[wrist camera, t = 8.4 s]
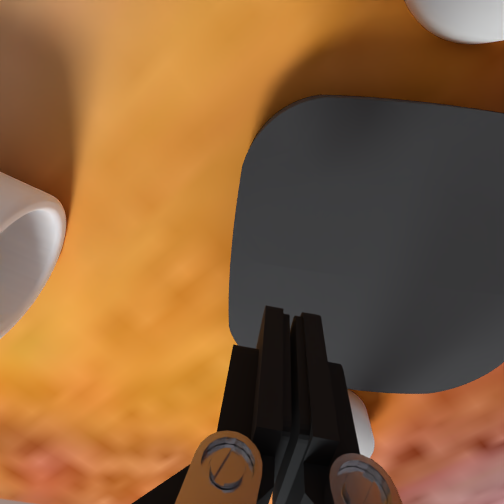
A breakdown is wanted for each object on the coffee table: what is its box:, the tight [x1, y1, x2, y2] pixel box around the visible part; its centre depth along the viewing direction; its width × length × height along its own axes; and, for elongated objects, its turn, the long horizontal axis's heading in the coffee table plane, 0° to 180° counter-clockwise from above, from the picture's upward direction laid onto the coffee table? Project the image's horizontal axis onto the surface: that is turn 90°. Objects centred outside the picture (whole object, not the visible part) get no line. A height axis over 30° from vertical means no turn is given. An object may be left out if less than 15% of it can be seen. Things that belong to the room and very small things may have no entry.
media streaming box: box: [229, 95, 504, 394], centre depth 17 cm, size 15×15×3 cm
